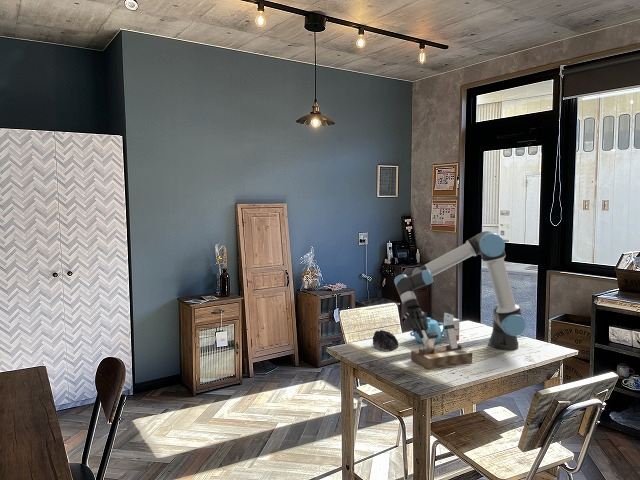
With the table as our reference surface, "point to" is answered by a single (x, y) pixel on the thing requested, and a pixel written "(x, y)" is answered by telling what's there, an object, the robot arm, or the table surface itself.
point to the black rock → (384, 341)
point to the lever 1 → (430, 342)
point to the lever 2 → (451, 336)
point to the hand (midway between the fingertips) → (426, 343)
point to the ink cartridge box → (454, 322)
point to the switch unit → (441, 357)
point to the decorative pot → (431, 330)
